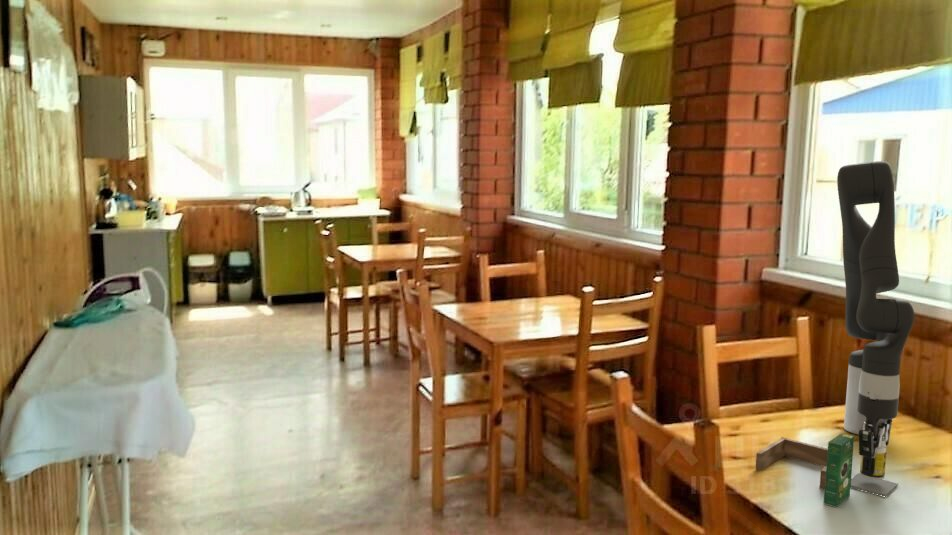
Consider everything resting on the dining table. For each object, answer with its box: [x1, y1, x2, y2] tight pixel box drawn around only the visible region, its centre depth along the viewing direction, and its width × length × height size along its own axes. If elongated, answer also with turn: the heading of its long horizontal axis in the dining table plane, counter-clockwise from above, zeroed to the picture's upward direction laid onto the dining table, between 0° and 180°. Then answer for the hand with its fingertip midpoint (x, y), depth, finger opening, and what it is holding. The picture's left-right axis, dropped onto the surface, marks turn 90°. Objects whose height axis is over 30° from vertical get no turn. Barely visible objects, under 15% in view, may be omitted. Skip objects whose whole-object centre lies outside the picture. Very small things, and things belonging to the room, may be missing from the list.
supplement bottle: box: [859, 438, 887, 480], centre depth 164 cm, size 5×5×8 cm
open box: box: [755, 436, 828, 491], centre depth 173 cm, size 14×15×4 cm
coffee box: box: [822, 433, 855, 508], centre depth 158 cm, size 8×3×13 cm, turn 136°
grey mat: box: [850, 472, 899, 498], centre depth 165 cm, size 8×8×1 cm
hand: (872, 469), depth 165 cm, fingers closed on supplement bottle, 4 cm apart
